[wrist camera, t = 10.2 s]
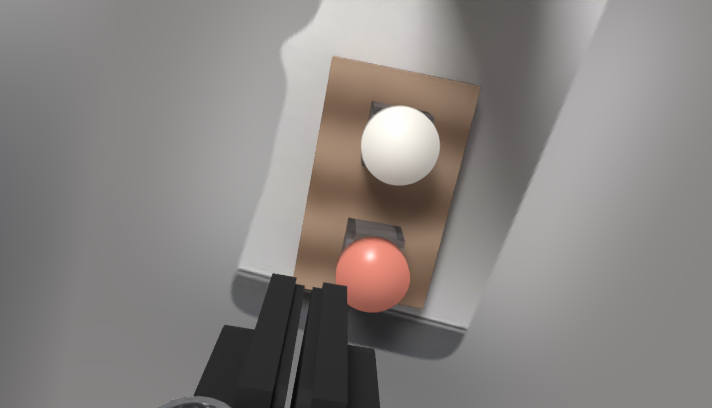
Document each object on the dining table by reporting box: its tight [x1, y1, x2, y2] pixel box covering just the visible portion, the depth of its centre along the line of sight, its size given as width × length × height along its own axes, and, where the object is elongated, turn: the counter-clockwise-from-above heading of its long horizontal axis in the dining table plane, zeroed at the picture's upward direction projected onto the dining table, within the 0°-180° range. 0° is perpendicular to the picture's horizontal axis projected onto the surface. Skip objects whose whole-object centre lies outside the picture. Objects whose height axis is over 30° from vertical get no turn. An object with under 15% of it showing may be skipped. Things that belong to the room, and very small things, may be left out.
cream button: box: [361, 105, 440, 186], centre depth 40 cm, size 6×6×5 cm
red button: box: [336, 237, 410, 312], centre depth 42 cm, size 6×6×5 cm
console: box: [294, 56, 481, 309], centre depth 44 cm, size 20×12×6 cm, turn 169°
